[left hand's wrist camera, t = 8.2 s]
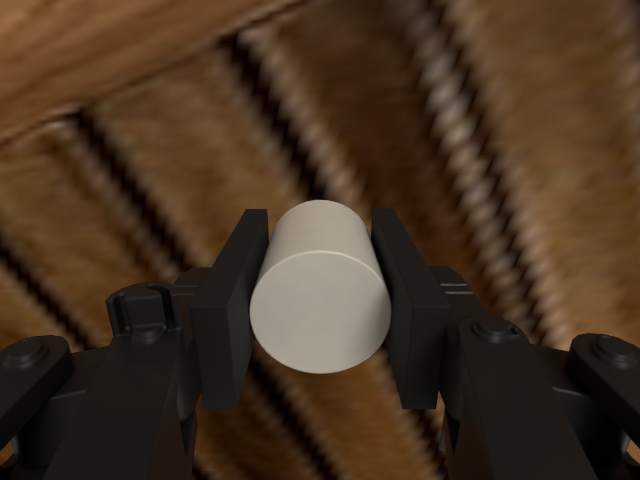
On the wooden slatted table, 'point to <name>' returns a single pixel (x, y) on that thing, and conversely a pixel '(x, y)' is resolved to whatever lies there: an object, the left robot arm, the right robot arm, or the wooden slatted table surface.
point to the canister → (320, 291)
